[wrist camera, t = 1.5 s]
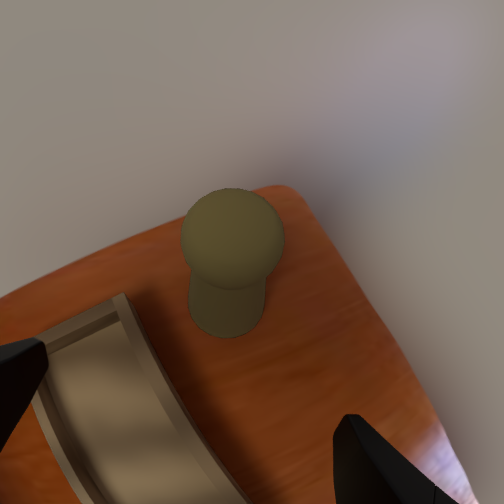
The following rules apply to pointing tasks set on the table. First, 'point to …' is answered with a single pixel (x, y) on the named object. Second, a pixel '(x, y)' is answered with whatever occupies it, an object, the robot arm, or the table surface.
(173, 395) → the track
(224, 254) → the olive pawn figure
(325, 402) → the table surface
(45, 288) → the table surface
